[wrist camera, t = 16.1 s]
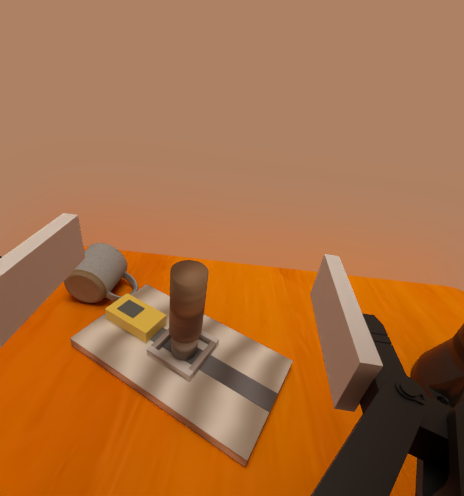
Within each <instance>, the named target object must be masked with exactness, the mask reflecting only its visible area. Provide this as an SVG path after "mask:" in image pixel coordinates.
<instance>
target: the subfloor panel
mask: <svg viewBox="0 0 464 496" xmlns="http://www.w3.org/2000/svg"><path fill="white" fill-rule="evenodd" d="M132 296H133V297H135V298H137V299H139V300H141V301H142V302H144V303H146V304H148V305H150V306H151V307H153V308H155V309H157V310H159V311H160V312H162V313H164V314H166V315H167V320H166V325H165V326H164V327H163V328H162V329H161V330H160V331H159V332H158V333H156V334H155V335H154V336H153V337H152V338H151V339H150V340H149V341H148V342H147V343H145V342H144V341H142V340H140V339H139V338H137V337H136V336H134V335H132V334H131V333H129V332H127V331H126V330H124V329H123V328H121V327H119V326H118V325H116V324H115V323H113V322H111V321H110V320H108V319H106V313H105V314H104V315H102V316H101V317H99V318H98V319H97V320H95V321H94V322H92V323H91V324H90V325H88V326H87V327H85V328H84V329H83V330H81V331H80V332H78V333H77V334H75V335H74V336H73V337H71V338H70V340H71V344H72V346H73V347H75V348H76V349H78V350H79V351H81V352H82V353H83V354H85V355H86V356H88V357H89V358H91V359H92V360H93V361H95V362H96V363H98V364H99V365H100V366H102V367H103V368H105V369H106V370H108V371H109V372H110V373H112V374H113V375H115V376H116V377H118V378H119V379H120V380H122V381H123V382H125V383H126V384H128V385H129V386H130V387H132V388H133V389H135V390H136V391H137V392H139V393H140V394H142V395H143V396H145V397H146V398H147V399H149V400H150V401H152V402H153V403H155V404H156V405H157V406H159V407H160V408H162V409H163V410H165V411H166V412H167V413H169V414H170V415H172V416H173V417H174V418H176V419H177V420H179V421H180V422H182V423H183V424H184V425H186V426H187V427H189V428H190V429H192V430H193V431H194V432H196V433H197V434H199V435H200V436H202V437H203V438H204V439H206V440H207V441H209V442H210V443H211V444H213V445H214V446H216V447H217V448H219V449H220V450H221V451H223V452H224V453H226V454H227V455H229V456H230V457H231V458H233V459H234V460H236V461H237V462H239V463H240V464H241V465H243V466H244V467H245V466H246V464H247V462H248V460H249V457H250V455H251V453H252V451H253V449H254V446H255V444H256V442H257V440H258V438H259V435H260V433H261V431H262V429H263V426H264V424H265V422H266V420H267V418H268V415H269V413H270V411H271V409H272V407H273V404H274V402H275V400H276V398H277V396H278V393H279V391H280V389H281V387H282V384H283V382H284V380H285V378H286V376H287V373H288V371H289V369H290V367H291V364H292V360H290V359H288V358H286V357H284V356H283V355H281V354H279V353H277V352H275V351H273V350H271V349H269V348H267V347H265V346H263V345H261V344H260V343H258V342H256V341H254V340H252V339H250V338H248V337H246V336H244V335H242V334H240V333H239V332H237V331H235V330H233V329H231V328H229V327H227V326H225V325H223V324H221V323H219V322H218V321H216V320H214V319H212V318H210V317H208V316H206V315H204V316H203V325H202V333H201V335H200V337H199V338H198V344H197V352H196V354H195V356H194V357H193V358H191V359H189V360H178V359H176V358H175V357H174V356H173V355H172V352H171V343H172V338H171V336H170V334H169V309H170V296H168V295H166V294H164V293H162V292H160V291H158V290H156V289H154V288H153V287H151V286H149V285H147V284H146V285H145V286H143V287H142V288H140V289H139V290H138V291H136V292H135V293H133V294H132Z"/></svg>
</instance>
